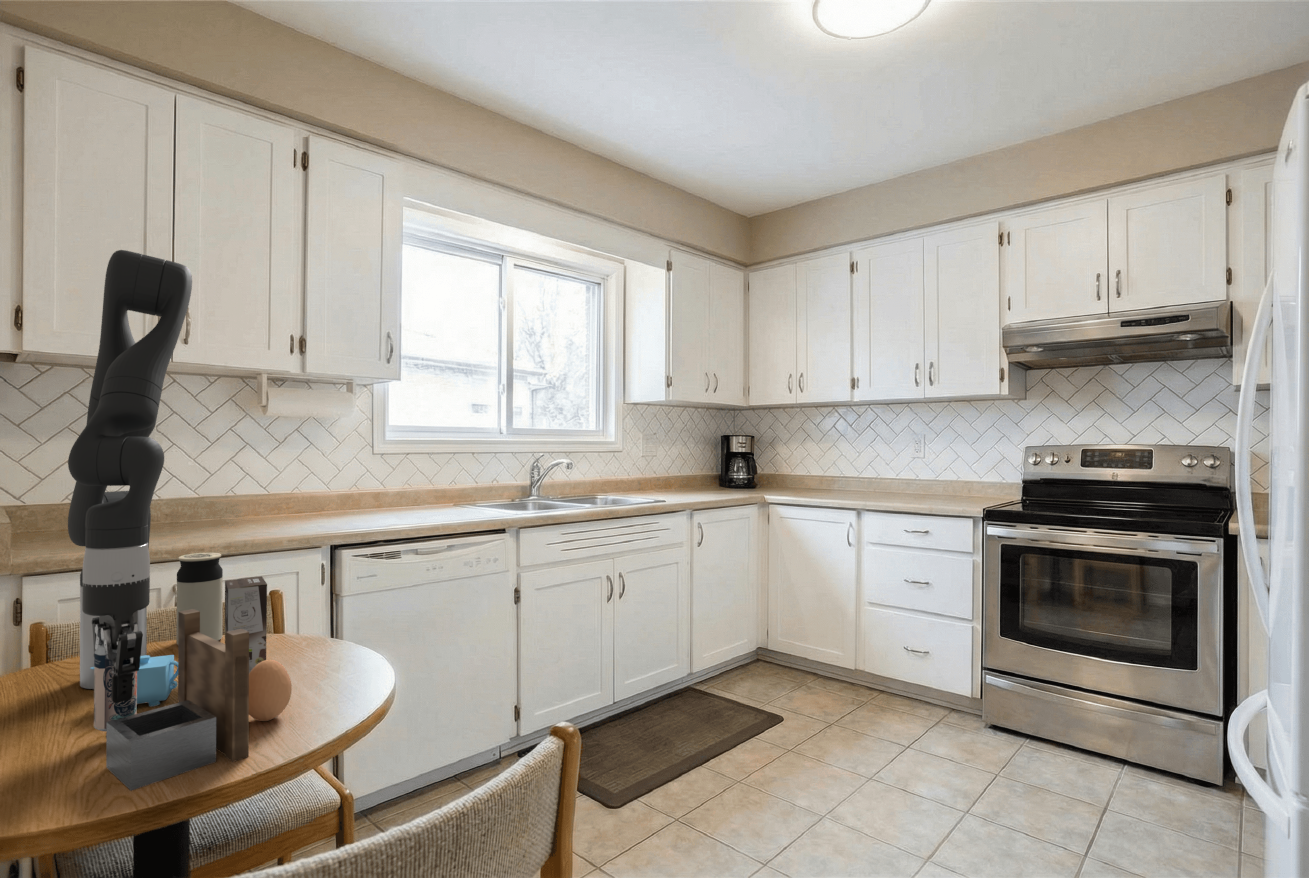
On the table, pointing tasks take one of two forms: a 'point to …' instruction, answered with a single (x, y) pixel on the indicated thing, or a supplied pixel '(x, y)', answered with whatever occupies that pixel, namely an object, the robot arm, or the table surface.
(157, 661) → the teapot
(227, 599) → the coffee box
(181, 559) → the travel mug
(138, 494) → the robot arm
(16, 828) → the table surface
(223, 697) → the headboard panel
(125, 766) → the post bracket
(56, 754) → the table surface
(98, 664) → the beer can
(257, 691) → the egg
